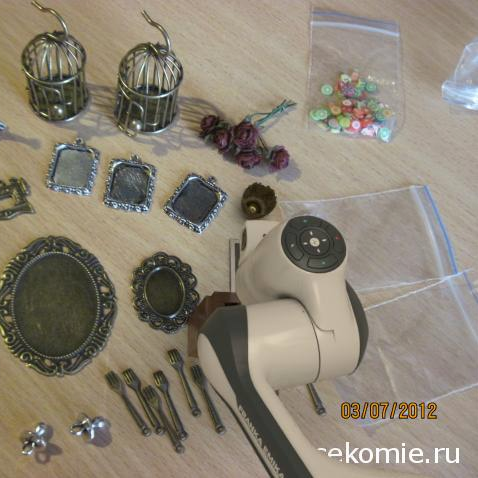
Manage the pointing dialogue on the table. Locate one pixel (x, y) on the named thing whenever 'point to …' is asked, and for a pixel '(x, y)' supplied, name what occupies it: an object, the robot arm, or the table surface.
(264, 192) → the cup
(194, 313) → the pen stand
